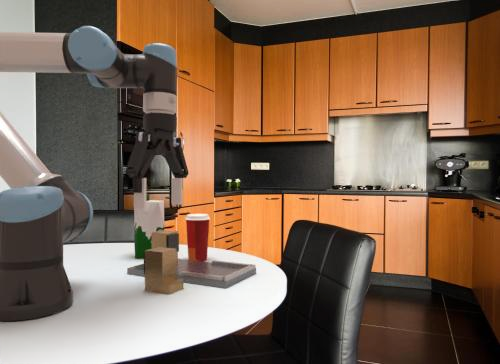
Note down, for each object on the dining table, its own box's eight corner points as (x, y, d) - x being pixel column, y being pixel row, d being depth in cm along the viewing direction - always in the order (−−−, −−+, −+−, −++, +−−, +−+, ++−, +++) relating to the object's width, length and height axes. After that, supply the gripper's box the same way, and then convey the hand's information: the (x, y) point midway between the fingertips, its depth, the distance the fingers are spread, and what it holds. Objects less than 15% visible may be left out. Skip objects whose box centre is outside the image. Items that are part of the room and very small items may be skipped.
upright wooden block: (169, 294, 86) (169, 253, 86) (142, 289, 89) (142, 250, 89) (183, 288, 90) (183, 249, 90) (157, 284, 94) (157, 246, 94)
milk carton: (139, 253, 132) (139, 193, 131) (166, 253, 131) (166, 193, 131) (131, 259, 123) (131, 195, 123) (160, 259, 123) (160, 195, 122)
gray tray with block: (225, 288, 91) (225, 242, 91) (127, 273, 104) (127, 234, 104) (256, 273, 105) (256, 233, 105) (166, 262, 118) (166, 227, 118)
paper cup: (212, 257, 125) (212, 213, 125) (207, 262, 118) (207, 216, 117) (188, 257, 126) (188, 213, 126) (181, 262, 118) (181, 215, 118)
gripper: (136, 103, 78) (136, 210, 78) (202, 120, 101) (202, 203, 101) (107, 106, 81) (107, 209, 81) (177, 122, 104) (177, 202, 104)
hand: (159, 206), depth 91 cm, fingers open, 13 cm apart
